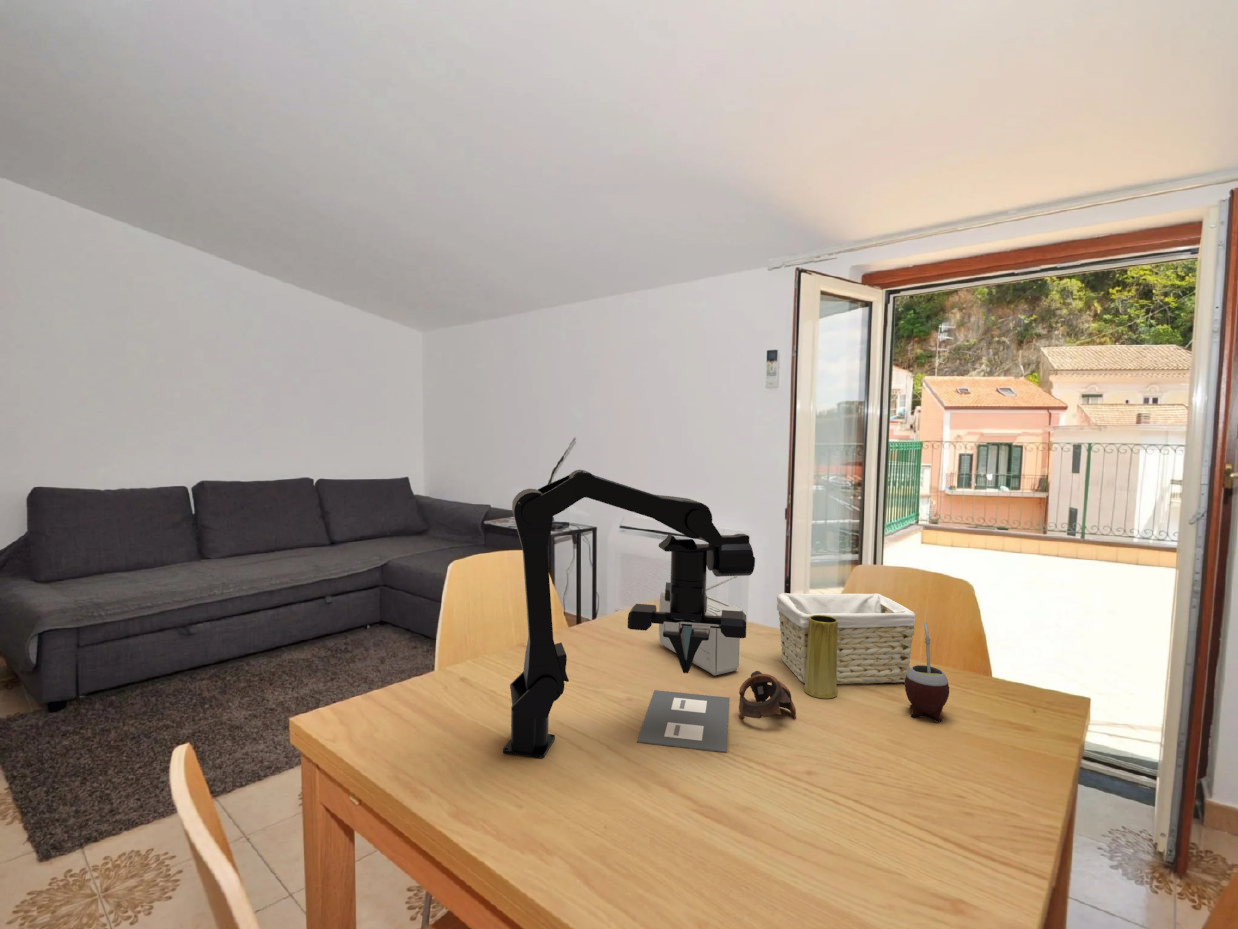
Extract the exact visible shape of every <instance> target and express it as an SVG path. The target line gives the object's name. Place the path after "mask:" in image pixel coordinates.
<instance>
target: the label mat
mask: <svg viewBox="0 0 1238 929" xmlns="http://www.w3.org/2000/svg"><path fill="white" fill-rule="evenodd" d="M652 693H653V694H652V695H651V699H650V701H649V702H650V703H649V705H648V709H647V711H646V714H645V716H644V719H643V723H642V725H641V727H640V731H639V734H638V737H637V740H636V743H638V744H639V743H641V744H648V745H658V746H666V747H673V748H680V749H681V748H682V749H690V748H691V750H698V749H700V750H701V751H710V752H716V751H717V752H718V753H726V754H728V744H729V743H728V742H729V741H728V740H729V738H728V737H729V736H728V735H729V718H730V696H729V697H728V696H727V697H726V696H717V695H707V694H698V693H697V694H695V693H687V692H686V693H685V692H677V691H676V692H675V691H670V690H669V691H668V690H666V691H665V690H658V689H654V690H653V692H652Z"/></svg>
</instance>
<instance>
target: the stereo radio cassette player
mask: <svg viewBox="0 0 1238 929" xmlns="http://www.w3.org/2000/svg"><path fill="white" fill-rule="evenodd" d="M737 578H738V576H732V577H730V578H728V579H726V580H724V581H720V582H717V583H716V584H713V585H711V586H709V587H706V592H707V591H709V590H712V589H714V588H717V587H719V586H720V585H723V584H726V583H727V582H729V581H731V580H733V579H737ZM706 596H707V611H706V612H705V615H710V616H721V615H722V610H729V611H743V612H744V610H743V609H742V608H740V607H737V606H735V605H733V604H730V603H727V602H725V601H723V600H720V599H718V598H715V597H713V596H710V595H708V594H706ZM658 606H659V610H658V612H670V602H666V601H665V590H662V591H661V592H660V597H659V605H658ZM677 620H681V619H677ZM691 621H694V620H691ZM691 631H692V626H684V639H685V650H686V660H687V654H688V647H689V641H690V635H691ZM663 632H664V627H663V624H658V634H659V642H660V644H661V645H662V646H664V647H665V648H666V649H668V650H670V651H672V652H673V653H675V654H676V651H675V649H674V647H673V645H672V643H671V641H670V639H669V638H668V637H663ZM740 640H741V638H731V637H725V636H724V635H723V634H722V633H721V629H720V628H710V635H709V640H707V641H704V640H703V641H702V642H701V644H700V646H699V648H698V649H697V651H696V653H695V656H694V658H693V661H692V664H694V665H696V666H697V667H699V668H701V669H702V670H704V671H706V672H708V673H709V674H711V675H713V676H715V677H716V676H717V675H718V676H719V675H723V674H726V673H731V672H735V671H737V670H738V668H739V667H740V644H741V642H740Z"/></svg>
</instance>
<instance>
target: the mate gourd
mask: <svg viewBox="0 0 1238 929" xmlns="http://www.w3.org/2000/svg"><path fill="white" fill-rule="evenodd" d="M923 627H924V632H925V638H924V640H925V643H924V644H926V645H925V646H926V649H925V650H926V665H922V664H920V665H919V664H918V665H913V666H911V667H909V670H908V672H907V673H906V678H905V682H904V689H905V690H904V691H905V694H906V697H907V700H908V701H909V703H910V704H909V709H911V711H912V713H910V717H911V718H913V719H917V718H919V719H920V718H923V717H926V718H928V719H930V720H932V721H933V722H936V723H938V724H939V723H942V718H941V715H942V712H943V709H944V706H945V705H946V704H947V702H948V699H949V696H950V686H949V679H948V678H947V675H946V674H945V673H944V671H942V670H941V669H940V668H937V667H935V666H934V667H933V666H931V650H930V647H931V645H930V644H931V638H930V635H929V629H928V623H927V622H926V621H925V622H923Z"/></svg>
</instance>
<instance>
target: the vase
mask: <svg viewBox="0 0 1238 929" xmlns="http://www.w3.org/2000/svg"><path fill="white" fill-rule="evenodd" d="M837 633H838V620H837V619H836V618H834V617H831V616H827V615H812V616H810V617H809V628H808V647H807V659H806V670H805V683H804V686H803V691H804V693H806V694H807V695H809V696H811V697H813V698H816V699H817V698H818V699H825V700H827V699H834V698H835V697H837V696H838V688H837V685H838V684H837Z"/></svg>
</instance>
